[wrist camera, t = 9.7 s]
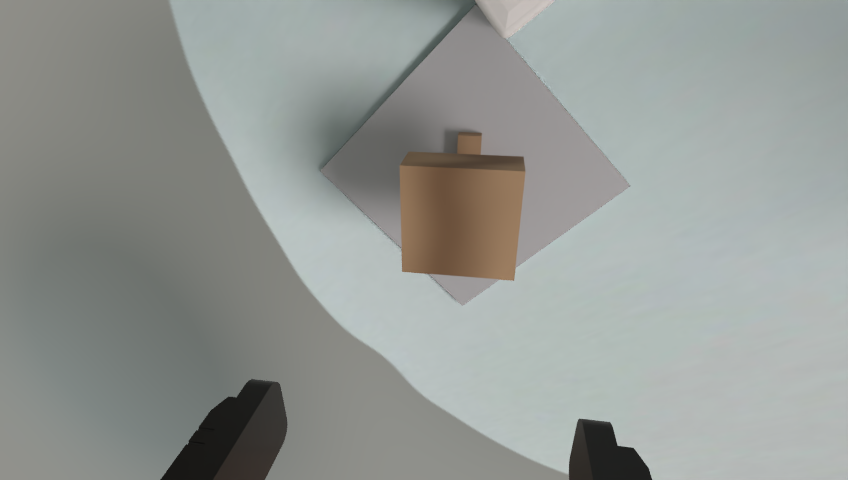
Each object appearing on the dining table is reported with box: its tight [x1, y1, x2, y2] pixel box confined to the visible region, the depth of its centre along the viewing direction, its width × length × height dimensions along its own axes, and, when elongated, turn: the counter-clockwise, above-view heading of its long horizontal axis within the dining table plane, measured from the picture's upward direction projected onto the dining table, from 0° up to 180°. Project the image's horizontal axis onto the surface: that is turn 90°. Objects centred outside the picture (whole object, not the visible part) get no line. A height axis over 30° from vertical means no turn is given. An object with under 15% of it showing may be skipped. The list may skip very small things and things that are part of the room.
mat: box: [320, 4, 630, 306], centre depth 29 cm, size 14×14×1 cm
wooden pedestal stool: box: [400, 132, 526, 281], centre depth 26 cm, size 6×6×7 cm
